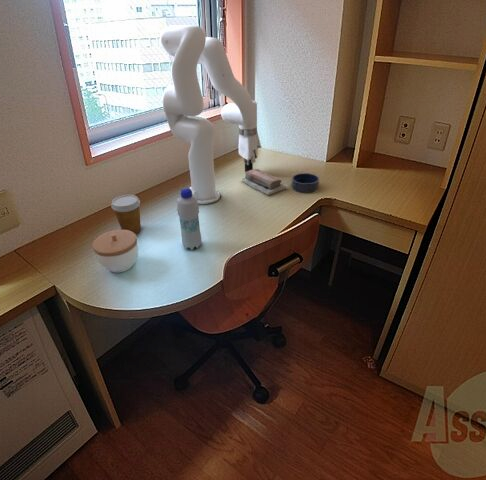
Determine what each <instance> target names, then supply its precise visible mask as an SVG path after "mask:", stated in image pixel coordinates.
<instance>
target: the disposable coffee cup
mask: <svg viewBox="0 0 486 480" xmlns="http://www.w3.org/2000/svg"><path fill="white" fill-rule="evenodd" d="M140 204H141V200H140V199H139V197H138V196H137V195H134V194H123V195H119V196H117V197H115V198H113V199H112V201H111V205H110V207H111V209H112V210H113V212H114V214H115V217H116V219H117V222H118V224H119V226H120V230H129V231H132V232H133V233H135V234H136V235H137V234H139V233H140V232H141V231H142V226H141V212H140V209H141V208H140Z"/></svg>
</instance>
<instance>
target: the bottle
mask: <svg viewBox="0 0 486 480" xmlns="http://www.w3.org/2000/svg"><path fill="white" fill-rule="evenodd" d="M180 192H181V195H180V197H178V198H177V200H176V212H177V215H178V217H179V218H178V219H179V226H180V234H181V243H182V246H183V247H184V248H185V249H186V250H188V249H190V250H191V251H192V250H194V249H198V248H200V246H201V245H202V243H203V242H202V233H201V227H200V218H199V217H200V215H199V213H200V207H199V204H198V202H197V199H196V197H194V196H192V191H191V190H190V188H183V189H181V190H180Z"/></svg>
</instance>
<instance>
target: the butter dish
mask: <svg viewBox="0 0 486 480" xmlns="http://www.w3.org/2000/svg"><path fill="white" fill-rule="evenodd" d="M241 182H242V183H244V184H246V185H248V186H249V187H250V188H252V189H254V190H257V191H258V192H261V193H263V194H265V195H267V196H270V195H272V194H276V193H277V192H281V191H283V190H286V189H287V185H285V184H282V180H281V179H279V178H277V177H275V176H273V175H271V174H270V173H267V172H265V171H264V170H261V169H259V168H253V170H249V171H247V172H245V176H244V178H242V179H241Z"/></svg>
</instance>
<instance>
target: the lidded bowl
mask: <svg viewBox="0 0 486 480" xmlns="http://www.w3.org/2000/svg"><path fill="white" fill-rule="evenodd" d="M92 250H93V252H94V255H95V257H96V259H97V261H98V263H99V264H100V265H101V266H102V267H103V269H106V270H107V271H110V272H112V273H116V274H120V273H125V272H127V271H128V270H130V269H131V268H132V267H133V266H134V264H135V263H136V261H137V260H138V256H139V243H138V237H137V234H135V233H133V232H132V231H129V230H122V229H114V230H113V229H112V230H110V231H109V230H108V231H107V232H104V233H102V234H100V235H99V236H97V237H96V238H95V239H94V240H93V243H92Z"/></svg>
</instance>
